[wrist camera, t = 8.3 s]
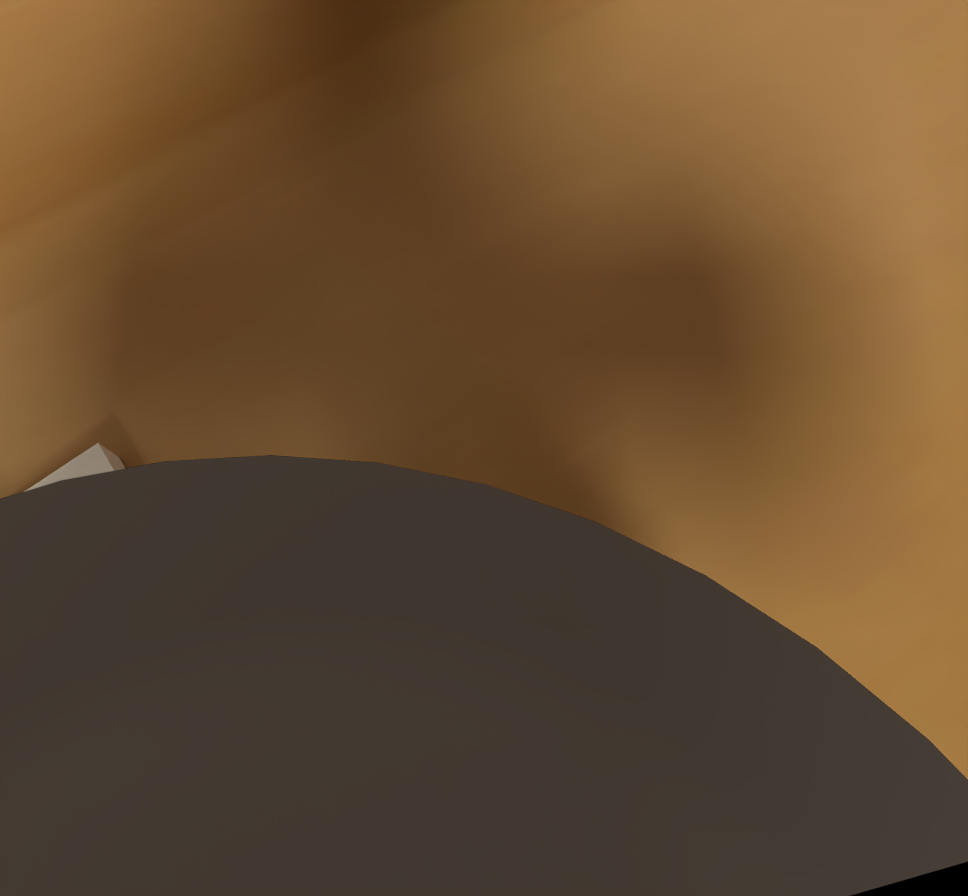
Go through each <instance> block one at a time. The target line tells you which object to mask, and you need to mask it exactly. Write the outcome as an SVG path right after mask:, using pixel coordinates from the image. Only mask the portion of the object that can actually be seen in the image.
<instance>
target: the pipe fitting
mask: <svg viewBox="0 0 968 896" xmlns="http://www.w3.org/2000/svg"><path fill="white" fill-rule="evenodd" d="M0 896H968V780H967V778H966V777H965V776H964V775H963V774H962V773H961V772H960V771H959V770H958V769H957V768H956V767H955V766H954V765H953V764H952V763H951V762H950V761H949V760H948V759H947V758H946V757H945V756H944V755H943V754H942V753H941V752H940V751H939V750H938V749H937V748H936V747H935V746H934V744H933V743H932V742H931V741H930V740H928V739H927V738H926V737H925V736H924V735H922V734H921V733H920V732H919V731H918V730H916V729H915V728H914V727H913V726H911V725H910V724H909V723H908V722H907V721H905V720H904V719H903V718H902V717H901V716H899V715H898V714H897V713H896V712H895V711H893V710H892V709H891V708H890V707H888V706H887V705H886V704H885V703H884V702H882V701H881V700H880V699H879V698H878V697H876V696H875V695H874V694H873V693H872V692H870V691H869V690H868V689H867V688H865V687H864V686H863V685H862V684H861V683H859V682H858V681H857V680H856V679H855V678H853V677H852V676H851V675H850V674H848V673H847V672H846V671H845V670H844V669H842V668H841V667H840V666H839V665H838V664H836V663H835V662H834V661H833V660H832V659H830V658H829V657H828V656H827V655H825V654H824V653H823V652H822V651H821V650H819V649H818V648H817V647H815V646H814V645H812V644H811V643H809V642H808V641H806V640H805V639H803V638H801V637H800V636H798V635H797V634H795V633H794V632H792V631H791V630H789V629H788V628H786V627H784V626H783V625H781V624H780V623H778V622H777V621H775V620H774V619H772V618H771V617H769V616H767V615H766V614H764V613H763V612H761V611H760V610H758V609H757V608H755V607H754V606H752V605H750V604H749V603H747V602H746V601H744V600H743V599H741V598H740V597H738V596H737V595H735V594H733V593H732V592H730V591H729V590H727V589H726V588H724V587H723V586H721V585H720V584H718V583H716V582H715V581H713V580H712V579H710V578H709V577H707V576H706V575H704V574H702V573H699V572H697V571H695V570H693V569H691V568H689V567H687V566H685V565H683V564H681V563H679V562H677V561H675V560H673V559H671V558H669V557H667V556H665V555H662V554H660V553H658V552H656V551H654V550H652V549H650V548H648V547H646V546H644V545H642V544H640V543H638V542H636V541H634V540H632V539H630V538H628V537H625V536H623V535H621V534H619V533H617V532H615V531H613V530H611V529H609V528H607V527H605V526H603V525H601V524H599V523H597V522H594V521H592V520H589V519H586V518H583V517H580V516H577V515H574V514H571V513H568V512H565V511H562V510H559V509H556V508H553V507H550V506H547V505H544V504H541V503H539V502H536V501H533V500H530V499H527V498H524V497H521V496H518V495H515V494H512V493H509V492H506V491H503V490H500V489H497V488H494V487H491V486H488V485H485V484H480V483H475V482H470V481H465V480H460V479H456V478H451V477H446V476H441V475H436V474H431V473H426V472H421V471H416V470H411V469H406V468H401V467H396V466H391V465H386V464H381V463H373V462H359V461H345V460H331V459H317V458H302V457H288V456H274V455H268V456H250V457H232V458H215V459H197V460H179V461H164V462H159V463H153V464H148V465H142V466H137V467H131V468H126V469H121V470H115V471H110V472H104V473H99V474H93V475H88V476H82V477H77V478H71V479H66V480H61V481H57V482H54V483H51V484H48V485H44V486H41V487H38V488H35V489H31V490H28V491H25V492H22V493H18V494H15V495H12V496H9V497H5V498H2V499H0Z"/></svg>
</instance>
